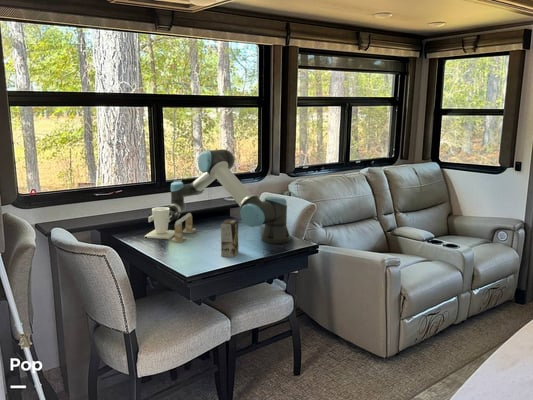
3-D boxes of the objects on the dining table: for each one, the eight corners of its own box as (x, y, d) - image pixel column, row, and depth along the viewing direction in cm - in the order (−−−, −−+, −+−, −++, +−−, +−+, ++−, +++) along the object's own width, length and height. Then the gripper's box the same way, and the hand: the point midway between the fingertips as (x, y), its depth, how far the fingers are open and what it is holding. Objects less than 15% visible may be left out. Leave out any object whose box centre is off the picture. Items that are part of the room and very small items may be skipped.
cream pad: (178, 232, 259) (177, 230, 259) (169, 238, 245) (169, 237, 245) (154, 231, 261) (154, 229, 261) (144, 237, 247) (144, 236, 247)
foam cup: (152, 230, 256) (151, 207, 253) (169, 229, 259) (168, 206, 256) (153, 234, 247) (152, 211, 244) (170, 233, 250) (170, 210, 247)
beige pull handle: (185, 230, 263) (185, 215, 261) (195, 230, 262) (195, 215, 260) (171, 241, 240) (171, 224, 239) (182, 242, 240) (182, 225, 238)
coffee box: (234, 257, 215) (233, 224, 212) (220, 256, 216) (220, 223, 213) (239, 251, 224) (238, 219, 220) (226, 250, 225) (225, 219, 222)
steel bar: (188, 215, 260) (188, 212, 260) (191, 215, 260) (191, 213, 260) (175, 224, 239) (175, 222, 239) (178, 224, 239) (178, 222, 238)
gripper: (190, 218, 268) (177, 227, 246) (154, 216, 271) (138, 226, 249) (190, 205, 266) (177, 214, 245) (154, 204, 269) (138, 212, 248)
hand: (158, 220), depth 247 cm, fingers open, 9 cm apart
